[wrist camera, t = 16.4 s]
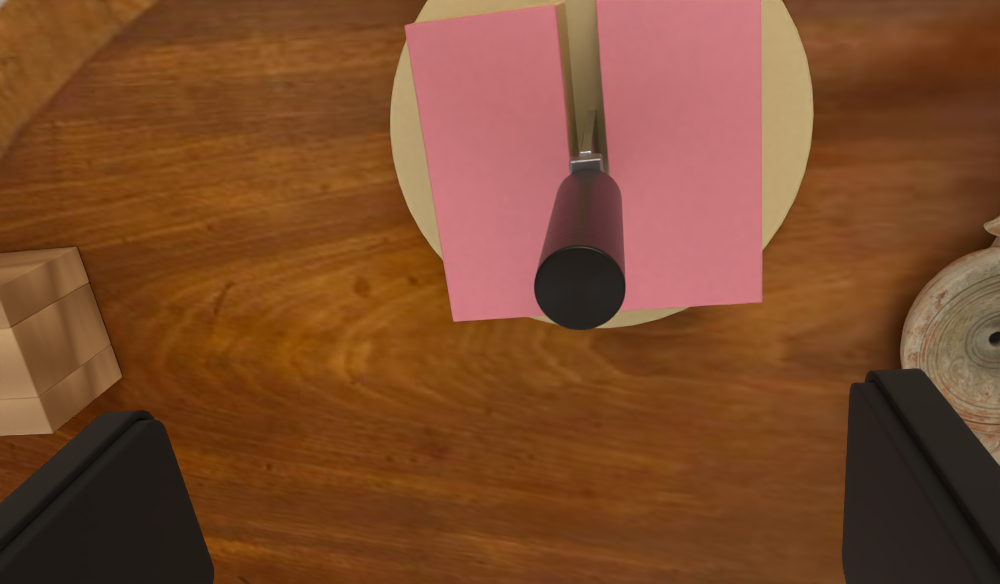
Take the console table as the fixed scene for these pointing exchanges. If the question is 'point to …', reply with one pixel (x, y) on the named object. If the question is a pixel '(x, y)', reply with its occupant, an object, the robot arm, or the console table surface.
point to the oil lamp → (962, 338)
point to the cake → (602, 141)
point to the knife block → (49, 341)
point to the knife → (583, 243)
